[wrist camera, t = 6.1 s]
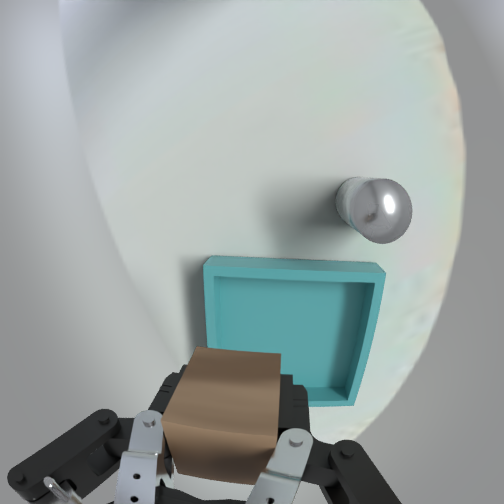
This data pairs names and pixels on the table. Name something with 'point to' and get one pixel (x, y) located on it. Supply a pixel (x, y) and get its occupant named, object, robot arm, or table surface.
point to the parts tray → (298, 317)
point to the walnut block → (225, 415)
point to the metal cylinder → (375, 208)
